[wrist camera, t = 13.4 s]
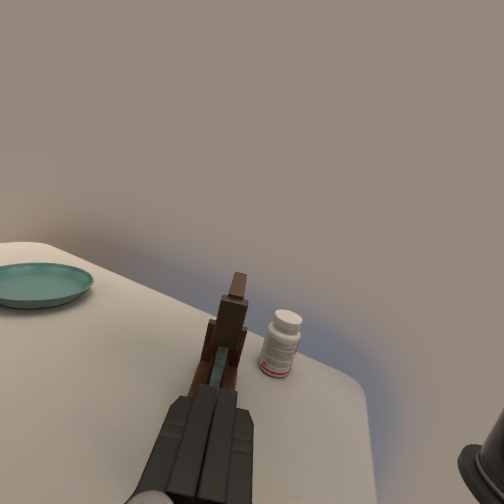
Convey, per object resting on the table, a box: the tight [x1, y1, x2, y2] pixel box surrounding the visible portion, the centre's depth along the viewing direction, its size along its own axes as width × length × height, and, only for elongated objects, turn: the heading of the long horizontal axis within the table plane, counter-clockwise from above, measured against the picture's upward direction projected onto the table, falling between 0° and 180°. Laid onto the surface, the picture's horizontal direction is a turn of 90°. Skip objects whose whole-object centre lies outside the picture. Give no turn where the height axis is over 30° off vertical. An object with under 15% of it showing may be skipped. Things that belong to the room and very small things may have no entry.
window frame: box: [187, 319, 247, 501], centre depth 26 cm, size 5×17×7 cm, turn 179°
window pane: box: [209, 272, 248, 412], centre depth 27 cm, size 2×7×13 cm, turn 178°
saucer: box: [0, 263, 94, 309], centre depth 42 cm, size 15×15×3 cm
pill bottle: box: [259, 310, 302, 377], centre depth 37 cm, size 5×5×8 cm
